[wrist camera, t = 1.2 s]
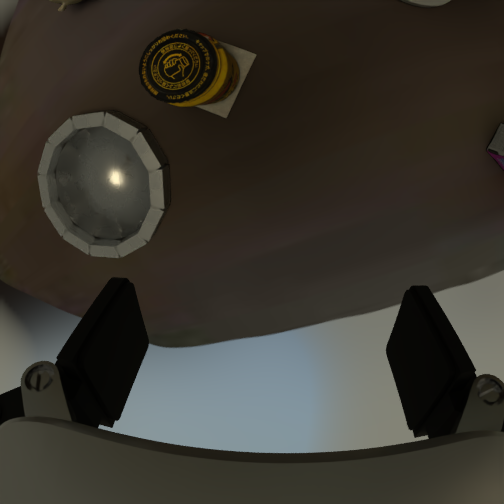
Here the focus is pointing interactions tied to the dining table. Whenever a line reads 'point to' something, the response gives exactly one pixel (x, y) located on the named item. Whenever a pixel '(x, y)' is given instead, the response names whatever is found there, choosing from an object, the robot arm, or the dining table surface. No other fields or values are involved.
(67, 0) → the garlic bulb
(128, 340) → the robot arm
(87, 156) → the faceted plate
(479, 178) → the dining table surface
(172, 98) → the condiment
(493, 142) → the candy bar box
